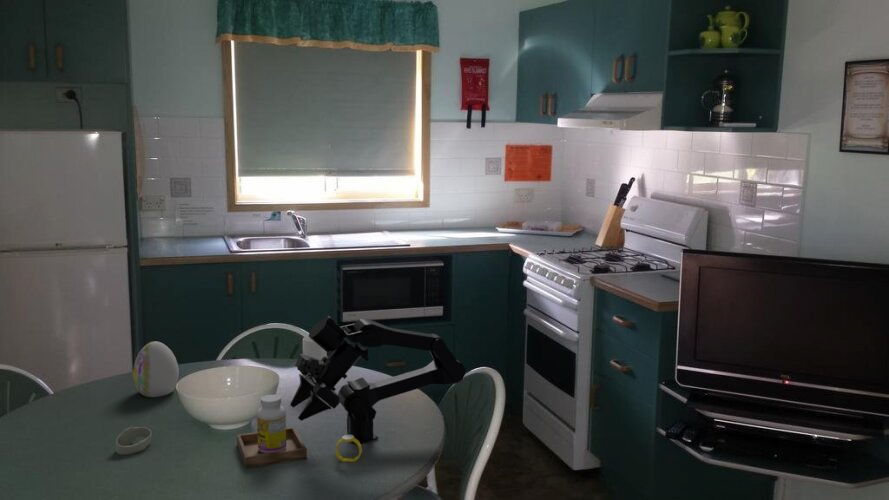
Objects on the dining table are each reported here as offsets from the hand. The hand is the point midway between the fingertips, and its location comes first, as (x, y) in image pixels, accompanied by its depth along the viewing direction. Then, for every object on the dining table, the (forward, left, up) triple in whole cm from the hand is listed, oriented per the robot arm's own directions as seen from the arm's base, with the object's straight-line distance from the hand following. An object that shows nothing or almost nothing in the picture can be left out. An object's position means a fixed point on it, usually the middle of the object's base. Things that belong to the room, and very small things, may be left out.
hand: (295, 412), depth 197 cm
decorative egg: (+60, +6, -9) cm, 61 cm away
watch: (-14, -5, -9) cm, 18 cm away
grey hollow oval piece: (+27, +28, -9) cm, 40 cm away
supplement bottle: (+2, +5, -9) cm, 10 cm away
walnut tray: (+2, +6, -9) cm, 11 cm away
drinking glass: (+32, -29, -9) cm, 44 cm away
